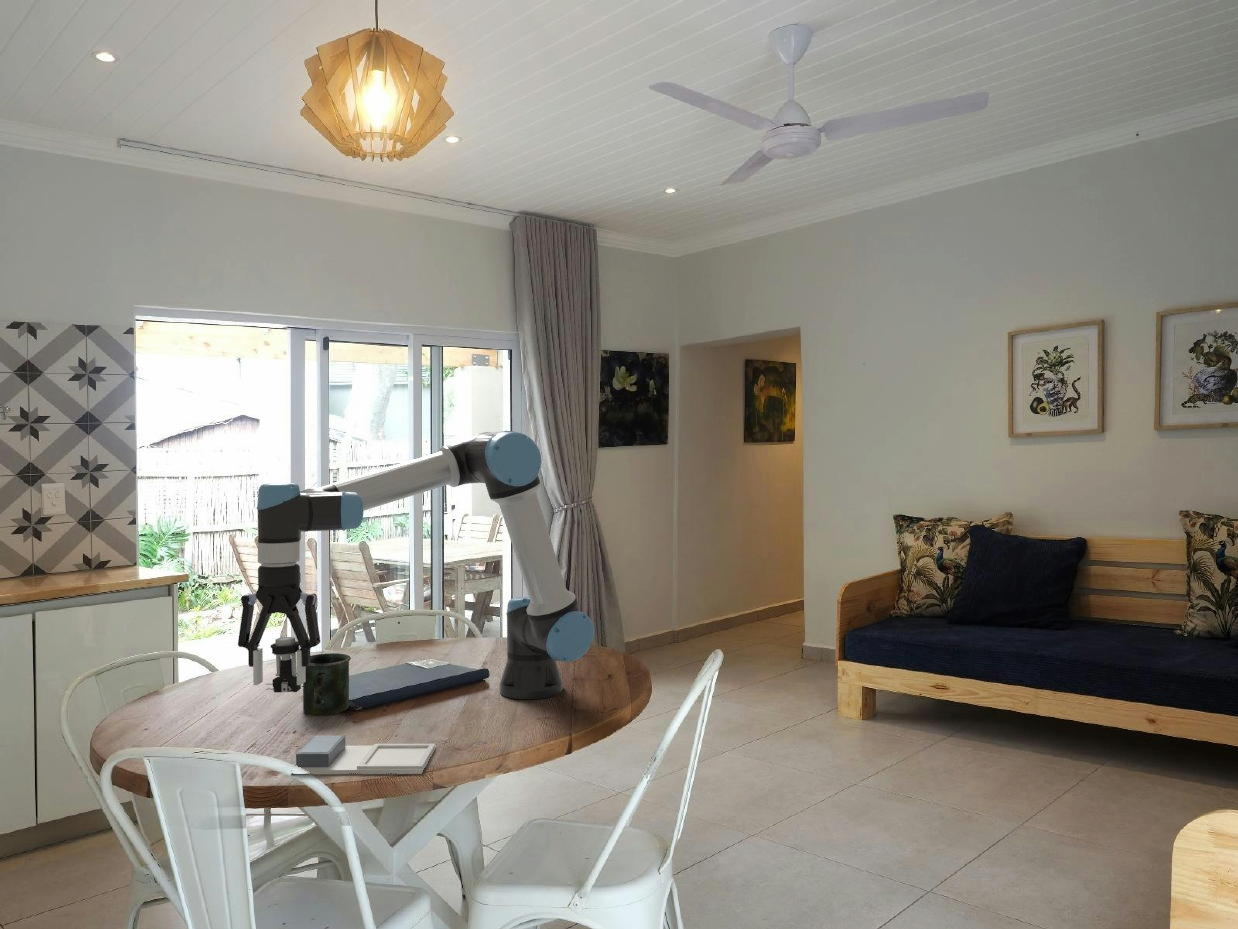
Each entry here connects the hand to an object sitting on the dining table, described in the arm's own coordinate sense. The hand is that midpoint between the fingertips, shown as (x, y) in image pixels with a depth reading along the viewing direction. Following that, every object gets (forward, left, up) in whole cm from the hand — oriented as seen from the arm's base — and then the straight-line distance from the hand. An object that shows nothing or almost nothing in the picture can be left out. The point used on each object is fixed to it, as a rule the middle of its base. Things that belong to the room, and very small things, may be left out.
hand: (279, 683), depth 175 cm
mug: (+2, -33, -15) cm, 36 cm away
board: (-16, 0, -15) cm, 22 cm away
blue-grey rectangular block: (-8, 0, -14) cm, 16 cm away
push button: (-1, 0, -2) cm, 2 cm away
